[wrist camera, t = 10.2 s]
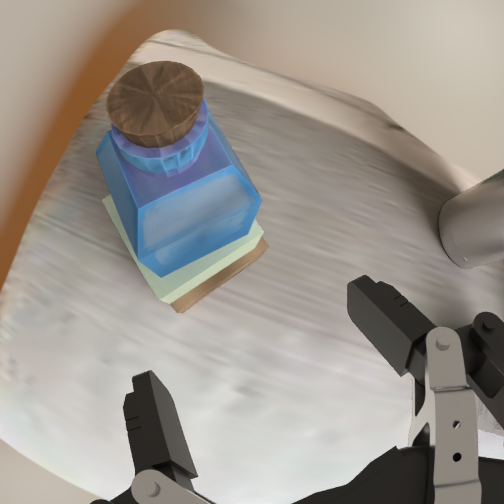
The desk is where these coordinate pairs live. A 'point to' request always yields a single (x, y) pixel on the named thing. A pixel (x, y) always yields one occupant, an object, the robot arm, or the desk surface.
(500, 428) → the ink cartridge box
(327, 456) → the desk surface
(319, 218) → the desk surface
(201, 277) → the tower top block
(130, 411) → the robot arm
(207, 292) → the tower base block
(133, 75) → the perfume bottle
